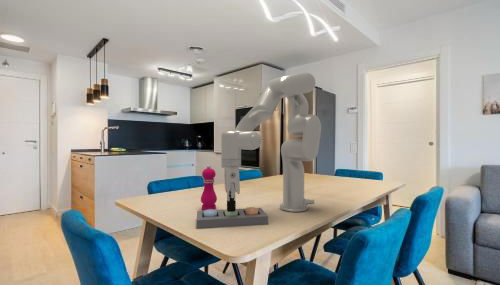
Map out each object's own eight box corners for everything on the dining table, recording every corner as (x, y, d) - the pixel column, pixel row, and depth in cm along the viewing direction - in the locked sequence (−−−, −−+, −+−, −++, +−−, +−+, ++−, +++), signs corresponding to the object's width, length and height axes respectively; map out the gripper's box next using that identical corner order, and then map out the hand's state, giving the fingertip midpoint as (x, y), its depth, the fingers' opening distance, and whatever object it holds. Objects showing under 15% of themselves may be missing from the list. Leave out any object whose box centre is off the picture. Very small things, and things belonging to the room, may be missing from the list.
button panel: (260, 214, 107) (260, 207, 107) (268, 224, 95) (268, 216, 95) (197, 218, 102) (197, 210, 102) (196, 228, 91) (196, 220, 91)
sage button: (236, 216, 102) (236, 208, 102) (238, 220, 97) (238, 212, 97) (224, 217, 101) (224, 209, 101) (225, 221, 96) (225, 213, 96)
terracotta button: (256, 214, 103) (256, 207, 103) (259, 218, 98) (259, 210, 98) (244, 215, 102) (244, 207, 102) (246, 218, 97) (246, 211, 97)
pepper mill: (213, 211, 112) (213, 165, 112) (198, 210, 113) (198, 165, 113) (219, 207, 119) (219, 164, 119) (204, 206, 120) (204, 163, 120)
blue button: (216, 216, 100) (216, 208, 100) (217, 220, 95) (217, 212, 95) (203, 217, 99) (203, 209, 99) (203, 221, 94) (203, 213, 94)
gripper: (244, 165, 92) (244, 216, 92) (238, 161, 107) (238, 205, 107) (223, 165, 90) (223, 217, 91) (219, 161, 105) (220, 206, 105)
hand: (231, 210), depth 99 cm, fingers closed
